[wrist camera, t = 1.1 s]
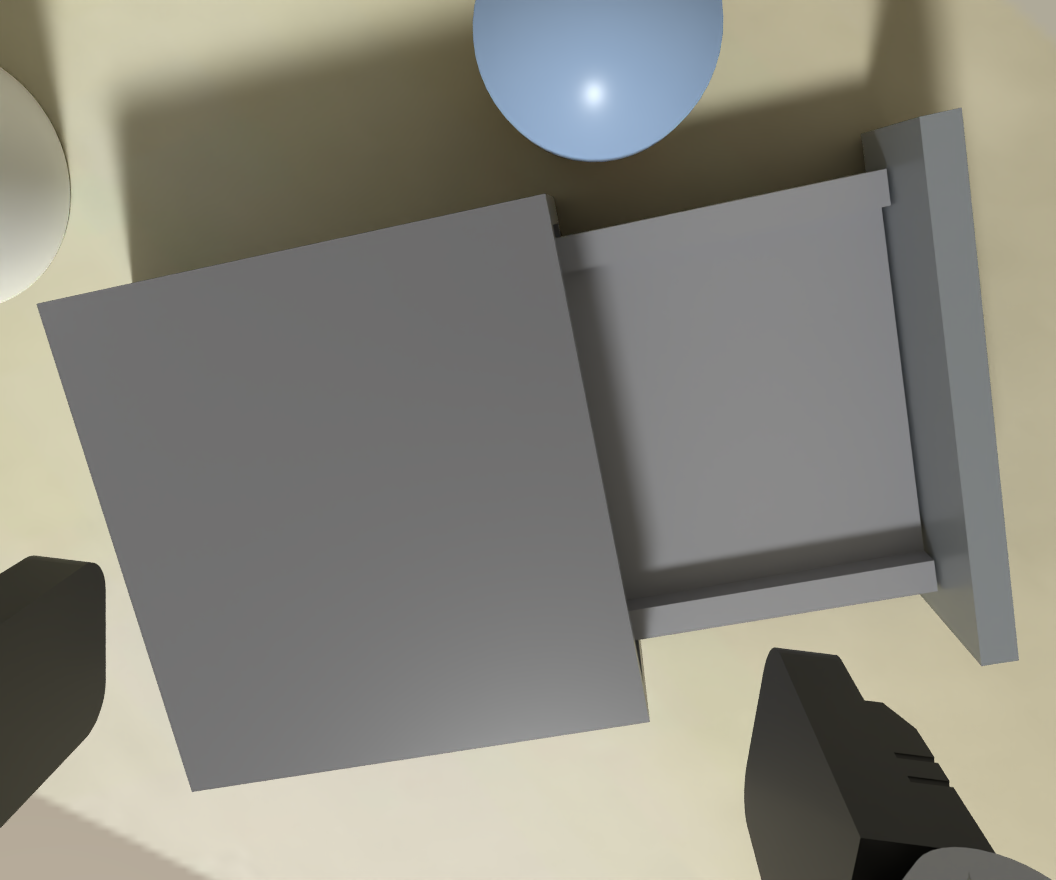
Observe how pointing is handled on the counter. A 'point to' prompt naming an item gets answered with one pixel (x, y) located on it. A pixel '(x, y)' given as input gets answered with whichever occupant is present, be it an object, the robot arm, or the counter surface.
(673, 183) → the counter surface
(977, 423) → the tray
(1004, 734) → the counter surface
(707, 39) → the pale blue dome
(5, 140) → the cup
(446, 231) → the housing
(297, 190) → the counter surface
